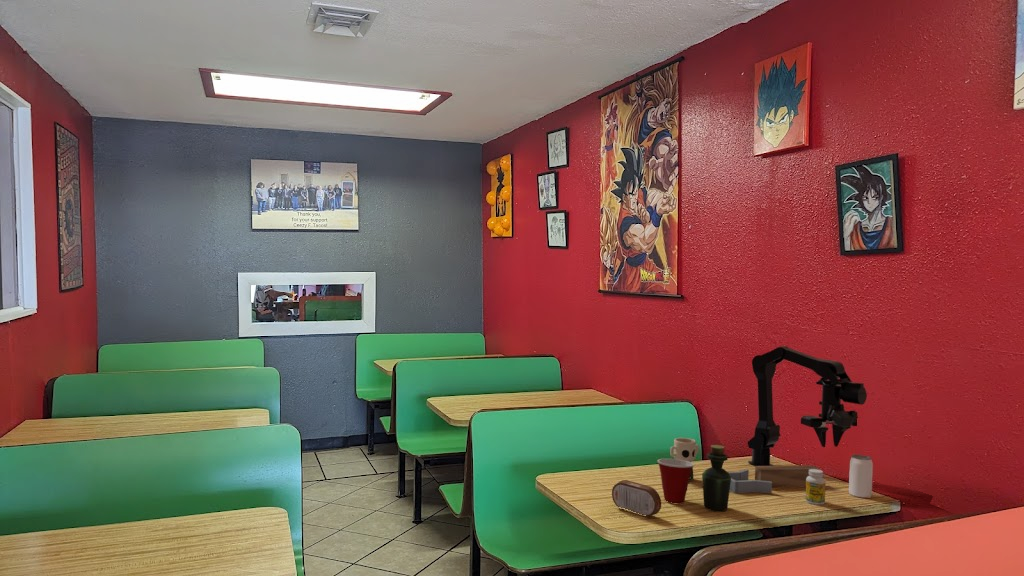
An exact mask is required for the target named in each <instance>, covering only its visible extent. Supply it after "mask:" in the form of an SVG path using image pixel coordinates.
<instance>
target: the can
mask: <svg viewBox="0 0 1024 576" xmlns="http://www.w3.org/2000/svg"><path fill="white" fill-rule="evenodd" d="M873 472H874V464H873V461H872V457H870V456H867V455H863V454H851V458H850V461H849V474H848V475H849V476H848V479H849V480H848V493H849V495H850V496H853V497H855V498H860V499H868V498H867V497H870V498H871V497H872V495H873V494H872V493H873Z"/></svg>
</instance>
